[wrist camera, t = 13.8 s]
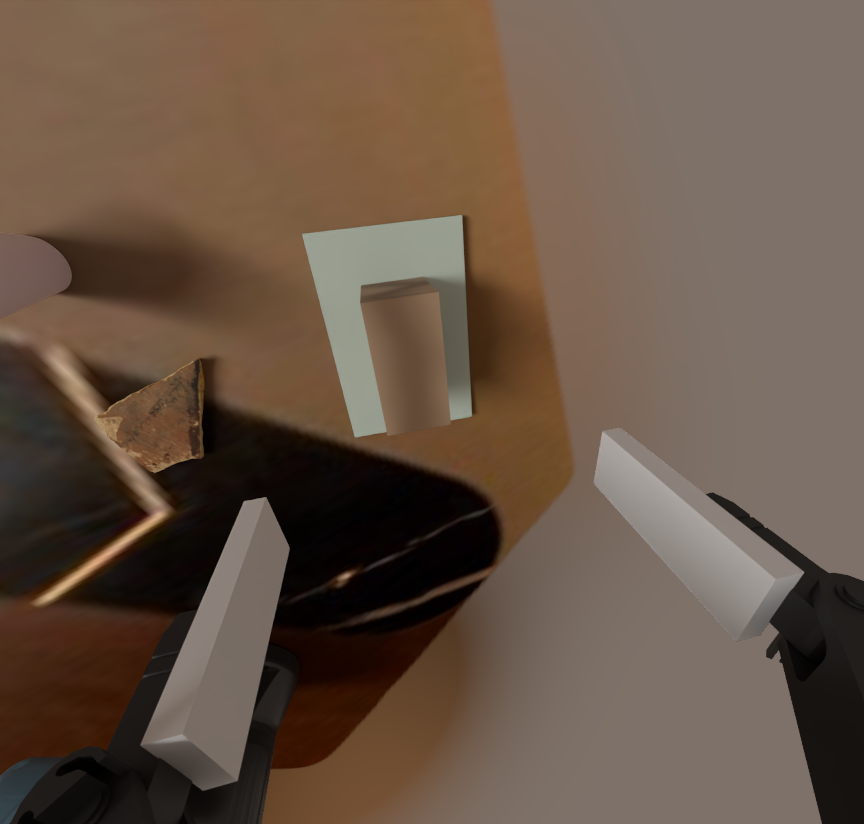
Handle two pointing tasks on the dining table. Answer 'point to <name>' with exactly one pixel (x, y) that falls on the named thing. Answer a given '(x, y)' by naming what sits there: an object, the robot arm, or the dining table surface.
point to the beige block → (407, 353)
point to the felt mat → (382, 262)
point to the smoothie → (29, 272)
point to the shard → (160, 420)
